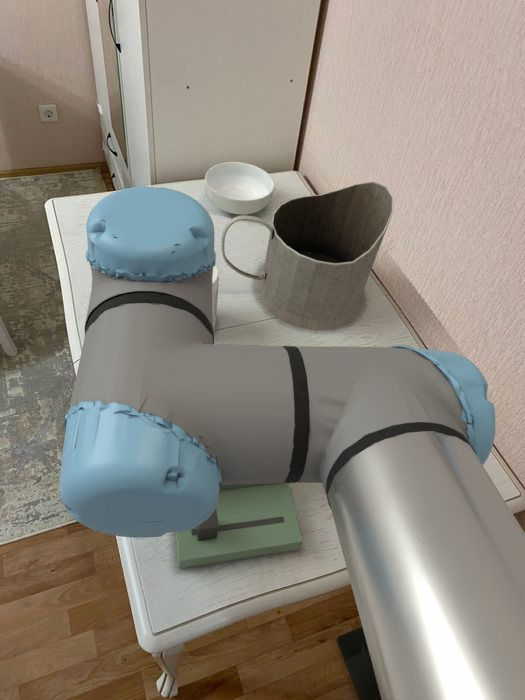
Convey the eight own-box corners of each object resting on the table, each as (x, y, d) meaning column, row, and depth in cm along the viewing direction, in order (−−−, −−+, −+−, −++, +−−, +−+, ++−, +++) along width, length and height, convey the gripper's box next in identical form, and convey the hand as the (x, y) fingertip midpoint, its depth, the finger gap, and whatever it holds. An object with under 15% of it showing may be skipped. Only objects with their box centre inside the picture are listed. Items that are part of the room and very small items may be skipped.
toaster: (297, 551, 72) (312, 523, 65) (178, 570, 69) (179, 543, 61) (271, 437, 84) (281, 401, 76) (168, 448, 80) (167, 411, 72)
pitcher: (376, 329, 104) (421, 230, 85) (226, 341, 97) (238, 235, 78) (342, 257, 118) (373, 158, 99) (208, 262, 111) (215, 156, 92)
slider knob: (216, 538, 68) (218, 527, 65) (197, 541, 67) (198, 530, 64) (214, 519, 70) (216, 508, 67) (195, 522, 69) (196, 510, 66)
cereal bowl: (218, 229, 119) (220, 204, 114) (194, 190, 128) (195, 165, 123) (281, 219, 125) (286, 194, 120) (254, 182, 134) (257, 158, 129)
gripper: (238, 334, 44) (220, 461, 62) (65, 344, 41) (98, 475, 59) (254, 405, 40) (229, 520, 57) (60, 422, 36) (98, 539, 54)
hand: (163, 497), depth 58 cm, fingers closed
